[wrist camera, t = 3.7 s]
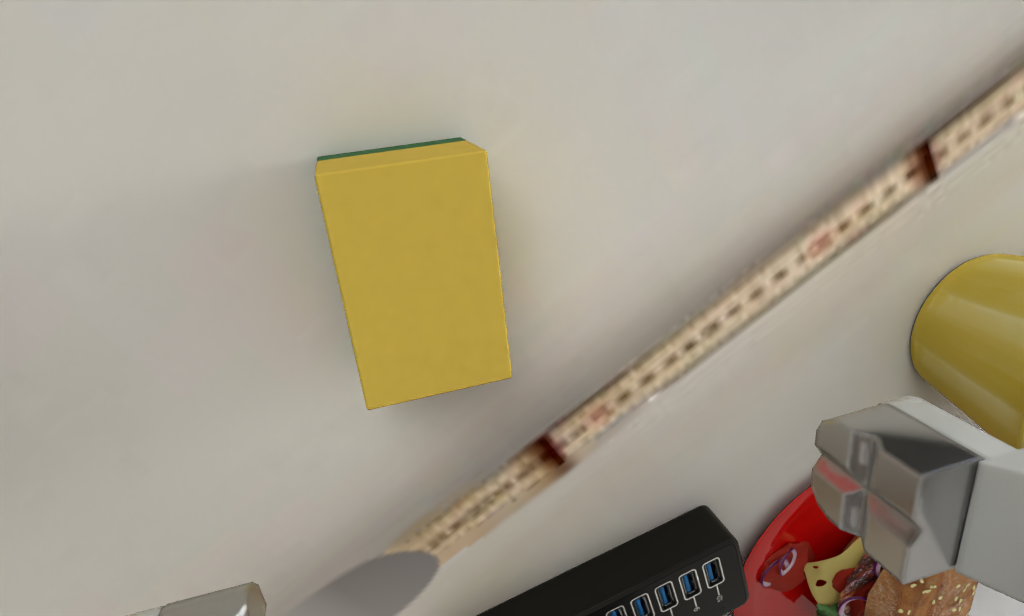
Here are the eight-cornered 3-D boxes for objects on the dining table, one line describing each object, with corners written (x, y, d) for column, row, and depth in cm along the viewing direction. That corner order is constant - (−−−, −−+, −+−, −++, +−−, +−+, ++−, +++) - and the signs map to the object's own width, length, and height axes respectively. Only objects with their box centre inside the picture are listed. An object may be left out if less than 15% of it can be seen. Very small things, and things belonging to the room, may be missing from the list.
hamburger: (915, 397, 30) (1045, 470, 24) (975, 551, 36) (1089, 637, 30) (686, 572, 30) (765, 684, 24) (785, 696, 36) (866, 807, 30)
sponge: (316, 156, 18) (313, 174, 15) (461, 136, 19) (487, 149, 16) (361, 360, 21) (367, 411, 18) (486, 334, 22) (512, 378, 19)
